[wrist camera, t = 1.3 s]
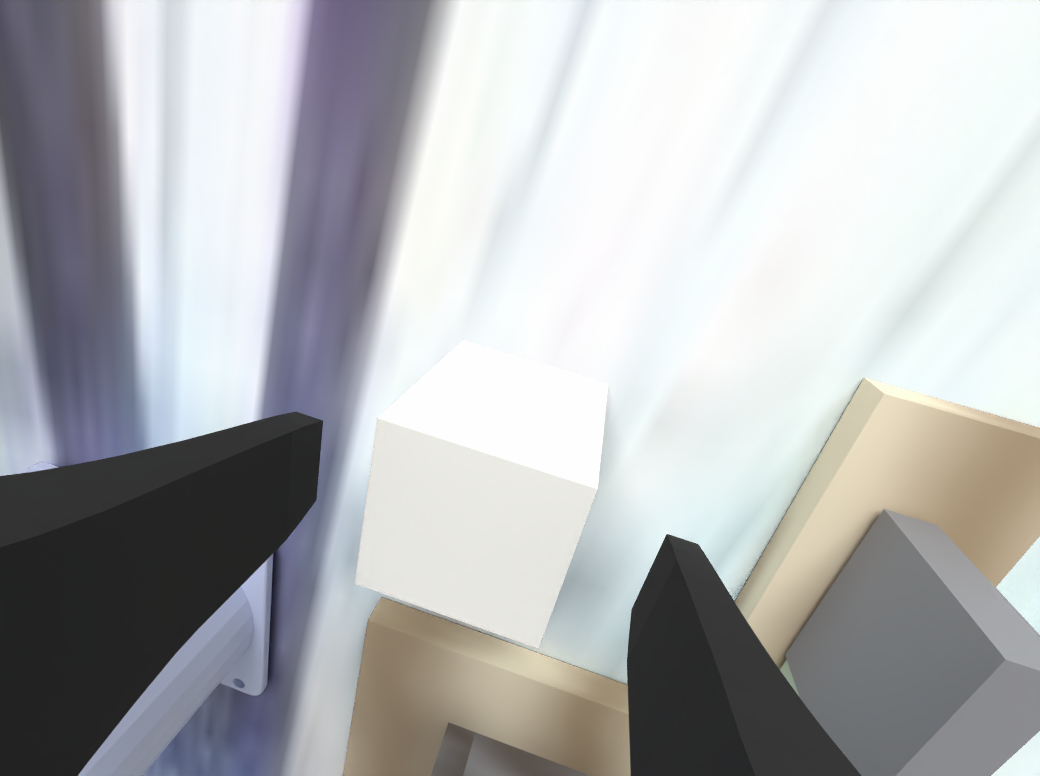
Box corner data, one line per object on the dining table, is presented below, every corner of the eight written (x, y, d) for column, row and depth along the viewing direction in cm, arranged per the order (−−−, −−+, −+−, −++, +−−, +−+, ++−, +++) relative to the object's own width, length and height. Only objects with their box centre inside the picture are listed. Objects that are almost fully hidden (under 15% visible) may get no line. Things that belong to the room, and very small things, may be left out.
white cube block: (438, 463, 15) (354, 583, 10) (463, 339, 13) (377, 417, 9) (566, 504, 14) (538, 649, 10) (608, 383, 13) (597, 489, 8)
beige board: (336, 857, 25) (300, 940, 22) (440, 255, 12) (387, 273, 10) (631, 978, 23) (632, 1083, 20) (1067, 435, 11) (1211, 515, 8)
